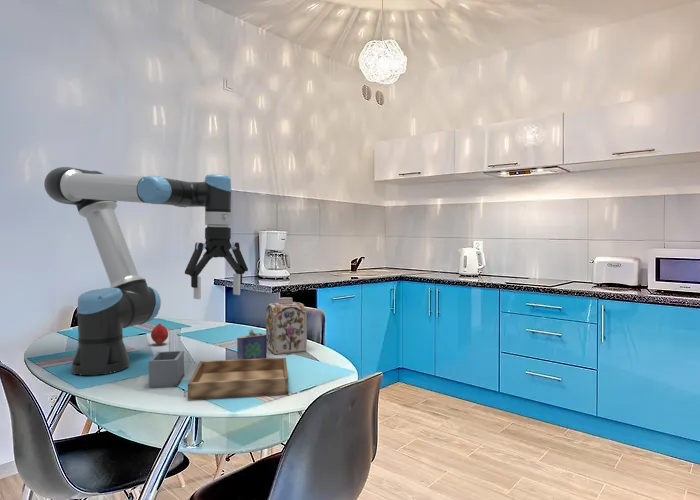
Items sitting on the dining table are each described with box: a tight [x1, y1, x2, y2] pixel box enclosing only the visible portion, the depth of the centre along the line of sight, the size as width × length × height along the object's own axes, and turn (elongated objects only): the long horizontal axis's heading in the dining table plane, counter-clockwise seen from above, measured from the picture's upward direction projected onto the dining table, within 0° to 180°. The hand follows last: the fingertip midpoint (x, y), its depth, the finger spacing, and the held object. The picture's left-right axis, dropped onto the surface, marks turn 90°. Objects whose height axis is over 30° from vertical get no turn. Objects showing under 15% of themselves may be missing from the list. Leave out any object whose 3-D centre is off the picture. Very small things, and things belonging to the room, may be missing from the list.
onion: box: [150, 322, 169, 346], centre depth 169 cm, size 6×6×8 cm
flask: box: [236, 328, 268, 360], centre depth 143 cm, size 9×3×11 cm, turn 121°
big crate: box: [187, 357, 289, 401], centre depth 124 cm, size 24×20×4 cm
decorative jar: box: [265, 296, 308, 355], centre depth 161 cm, size 12×12×18 cm
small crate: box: [148, 350, 185, 389], centre depth 126 cm, size 7×10×7 cm
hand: (217, 296), depth 141 cm, fingers open, 13 cm apart
